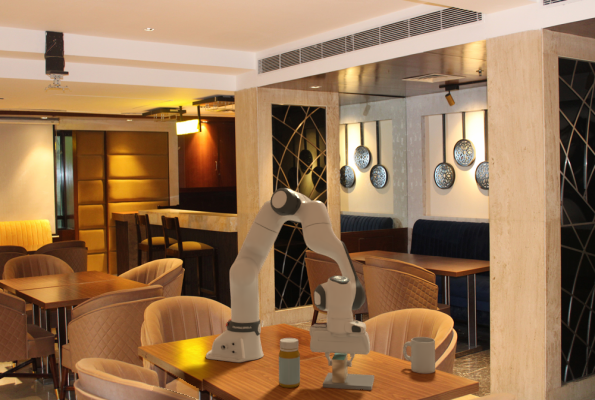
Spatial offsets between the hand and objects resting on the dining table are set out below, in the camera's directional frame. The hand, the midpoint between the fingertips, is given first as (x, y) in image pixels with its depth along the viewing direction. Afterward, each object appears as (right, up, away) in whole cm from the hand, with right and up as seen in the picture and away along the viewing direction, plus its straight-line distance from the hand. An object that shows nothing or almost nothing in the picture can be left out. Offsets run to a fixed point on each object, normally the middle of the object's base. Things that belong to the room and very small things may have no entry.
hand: (340, 365), depth 194 cm
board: (+3, -6, -1) cm, 6 cm away
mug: (+30, -6, +14) cm, 33 cm away
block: (0, -4, 0) cm, 4 cm away
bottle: (-17, -6, -2) cm, 18 cm away
